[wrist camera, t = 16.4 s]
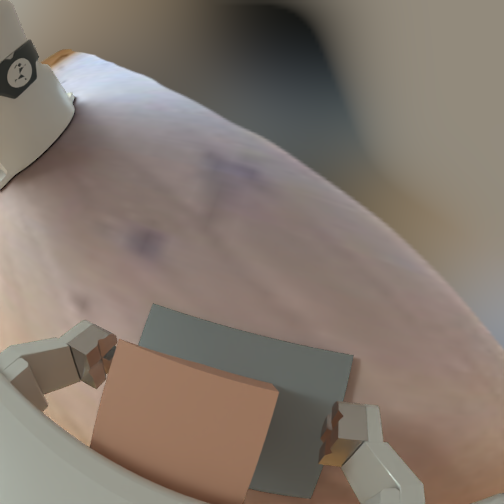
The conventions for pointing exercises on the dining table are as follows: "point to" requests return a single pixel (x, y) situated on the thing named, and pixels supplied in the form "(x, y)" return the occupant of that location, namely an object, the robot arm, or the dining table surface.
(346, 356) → the slate tile
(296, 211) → the dining table surface
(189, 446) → the brick block
